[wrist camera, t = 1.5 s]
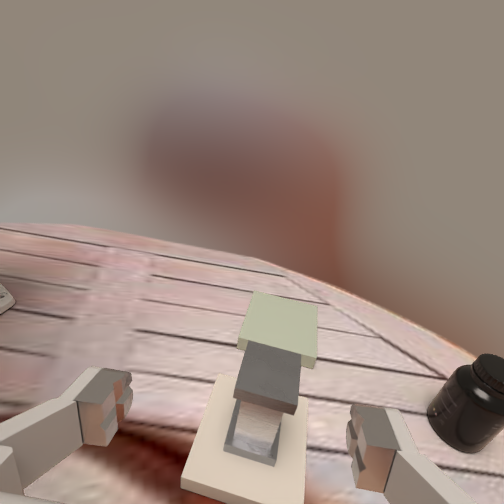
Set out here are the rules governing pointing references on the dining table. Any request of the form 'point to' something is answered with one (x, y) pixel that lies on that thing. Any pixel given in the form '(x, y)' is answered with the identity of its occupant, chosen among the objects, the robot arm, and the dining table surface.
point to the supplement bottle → (471, 405)
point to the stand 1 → (281, 326)
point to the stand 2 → (242, 469)
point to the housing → (262, 401)
